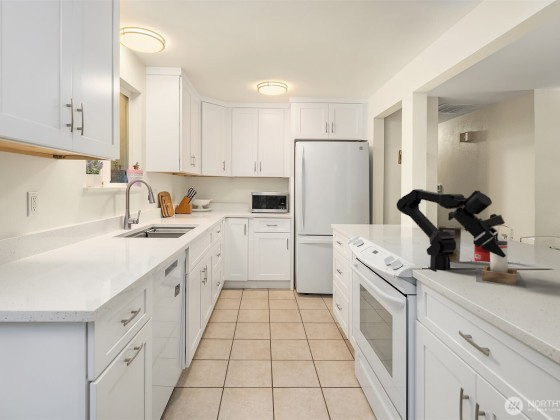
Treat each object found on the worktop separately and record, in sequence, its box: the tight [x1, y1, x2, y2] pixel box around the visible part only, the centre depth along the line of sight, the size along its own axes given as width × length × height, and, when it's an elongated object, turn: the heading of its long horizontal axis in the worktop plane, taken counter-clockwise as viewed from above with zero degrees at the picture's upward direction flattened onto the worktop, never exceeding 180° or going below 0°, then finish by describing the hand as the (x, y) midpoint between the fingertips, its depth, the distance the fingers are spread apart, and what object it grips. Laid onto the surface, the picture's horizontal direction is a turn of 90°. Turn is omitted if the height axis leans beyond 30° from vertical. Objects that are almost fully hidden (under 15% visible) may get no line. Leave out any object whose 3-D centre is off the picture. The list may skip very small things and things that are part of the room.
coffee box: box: [437, 225, 462, 264], centre depth 140 cm, size 9×6×16 cm
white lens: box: [489, 240, 509, 273], centre depth 109 cm, size 5×5×13 cm
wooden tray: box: [482, 265, 518, 286], centre depth 109 cm, size 10×10×4 cm
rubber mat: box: [475, 266, 528, 289], centre depth 113 cm, size 24×14×1 cm, turn 148°
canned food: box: [473, 244, 490, 263], centre depth 141 cm, size 8×8×11 cm
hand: (505, 255), depth 108 cm, fingers open, 7 cm apart
